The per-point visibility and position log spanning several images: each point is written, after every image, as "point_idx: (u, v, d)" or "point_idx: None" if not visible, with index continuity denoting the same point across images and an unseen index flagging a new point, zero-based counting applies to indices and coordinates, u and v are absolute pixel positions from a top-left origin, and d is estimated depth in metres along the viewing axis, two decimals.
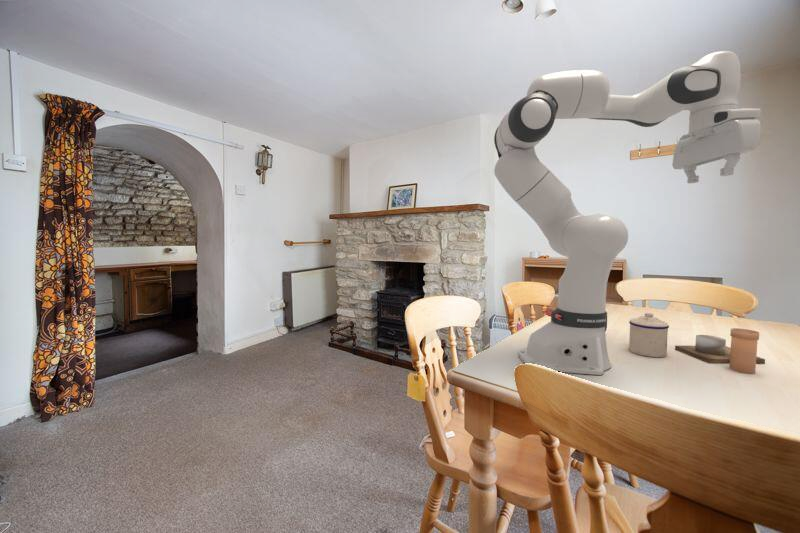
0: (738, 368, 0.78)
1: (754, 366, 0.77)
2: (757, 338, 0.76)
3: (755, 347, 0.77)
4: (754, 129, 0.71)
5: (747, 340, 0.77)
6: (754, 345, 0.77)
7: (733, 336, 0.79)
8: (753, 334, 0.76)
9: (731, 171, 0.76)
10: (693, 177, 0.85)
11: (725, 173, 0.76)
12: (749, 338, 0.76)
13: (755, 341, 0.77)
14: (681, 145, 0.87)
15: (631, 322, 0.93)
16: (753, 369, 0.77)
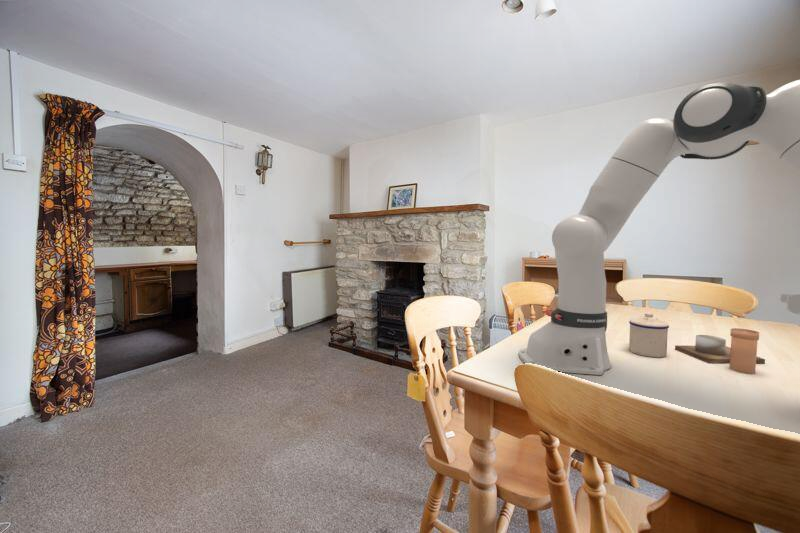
0: (738, 368, 0.78)
1: (754, 366, 0.77)
2: (757, 338, 0.76)
3: (755, 347, 0.77)
4: None
5: (747, 340, 0.77)
6: (754, 345, 0.77)
7: (733, 336, 0.79)
8: (753, 334, 0.76)
9: (784, 300, 0.65)
10: None
11: (783, 294, 0.66)
12: (749, 338, 0.76)
13: (755, 341, 0.77)
14: None
15: (631, 322, 0.93)
16: (753, 369, 0.77)
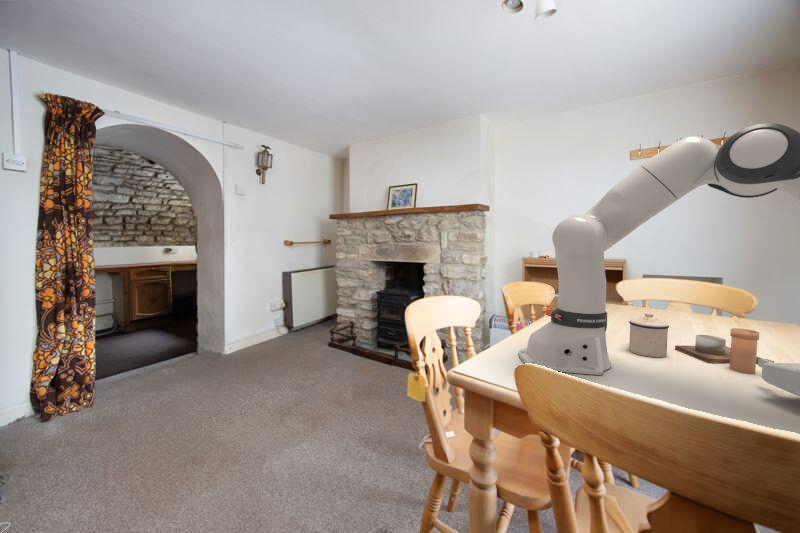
0: (738, 368, 0.78)
1: (754, 366, 0.77)
2: (757, 338, 0.76)
3: (755, 347, 0.77)
4: (784, 382, 0.61)
5: (747, 340, 0.77)
6: (754, 345, 0.77)
7: (733, 336, 0.79)
8: (753, 334, 0.76)
9: (761, 365, 0.70)
10: None
11: (761, 359, 0.70)
12: (749, 338, 0.76)
13: (755, 341, 0.77)
14: None
15: (631, 322, 0.93)
16: (753, 369, 0.77)
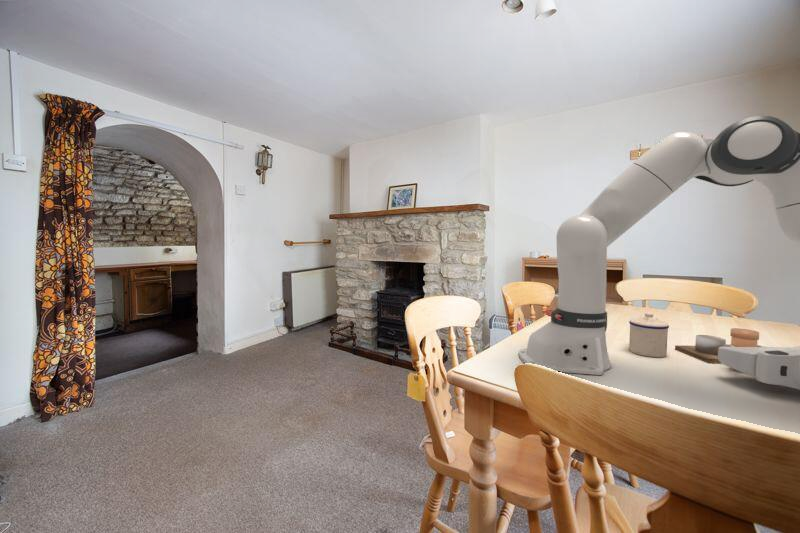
0: None
1: None
2: (757, 338, 0.76)
3: None
4: (735, 363, 0.71)
5: (747, 340, 0.77)
6: (754, 345, 0.77)
7: (733, 336, 0.79)
8: (753, 334, 0.76)
9: None
10: None
11: (727, 344, 0.79)
12: (749, 338, 0.76)
13: (755, 341, 0.77)
14: None
15: (631, 322, 0.93)
16: None
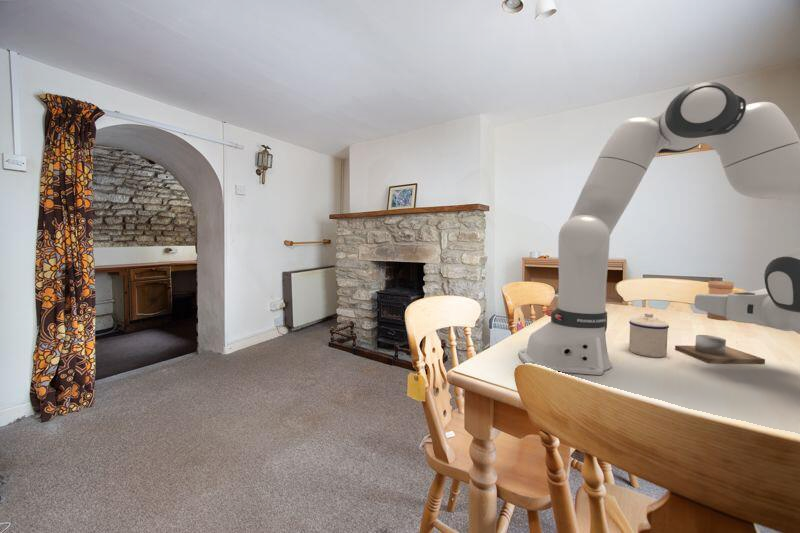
0: (714, 316, 0.85)
1: None
2: (731, 287, 0.83)
3: None
4: (708, 306, 0.78)
5: (722, 289, 0.84)
6: None
7: (710, 287, 0.86)
8: (728, 283, 0.83)
9: None
10: None
11: None
12: (724, 287, 0.83)
13: (730, 290, 0.83)
14: None
15: (631, 322, 0.93)
16: None
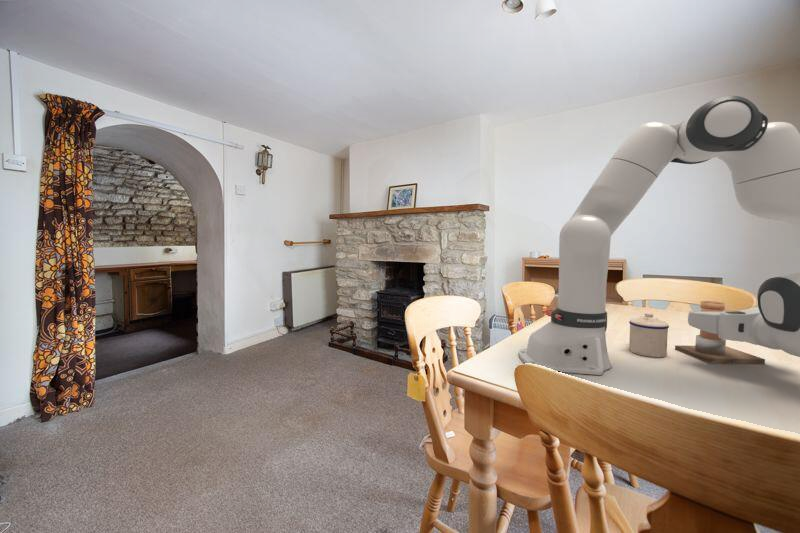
0: (706, 335, 0.88)
1: None
2: (723, 308, 0.86)
3: None
4: (701, 324, 0.81)
5: (714, 310, 0.86)
6: None
7: (702, 307, 0.89)
8: (719, 304, 0.86)
9: None
10: None
11: (690, 311, 0.89)
12: (716, 308, 0.86)
13: (721, 311, 0.86)
14: None
15: (631, 322, 0.93)
16: None
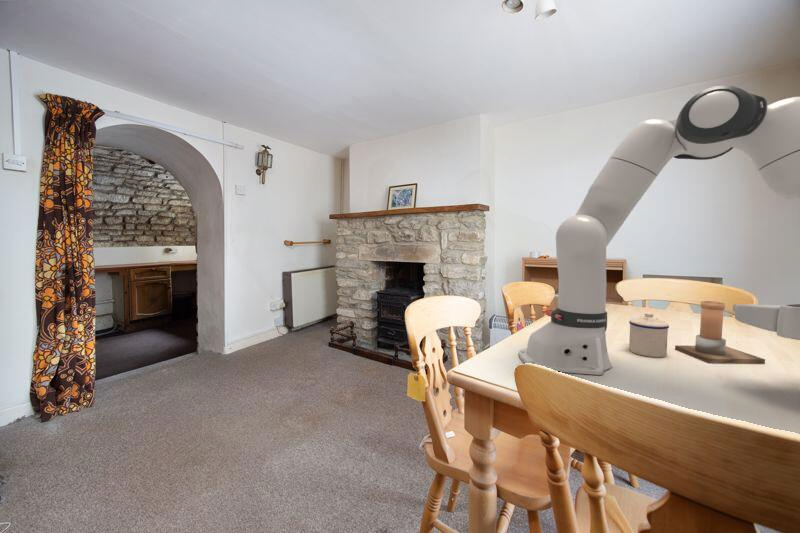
0: (706, 335, 0.88)
1: (720, 333, 0.87)
2: (723, 308, 0.86)
3: (721, 316, 0.86)
4: (753, 319, 0.67)
5: (714, 310, 0.86)
6: (720, 314, 0.86)
7: (702, 307, 0.89)
8: (719, 305, 0.86)
9: None
10: None
11: (735, 304, 0.76)
12: (716, 308, 0.86)
13: (721, 311, 0.86)
14: None
15: (631, 322, 0.93)
16: (719, 336, 0.87)
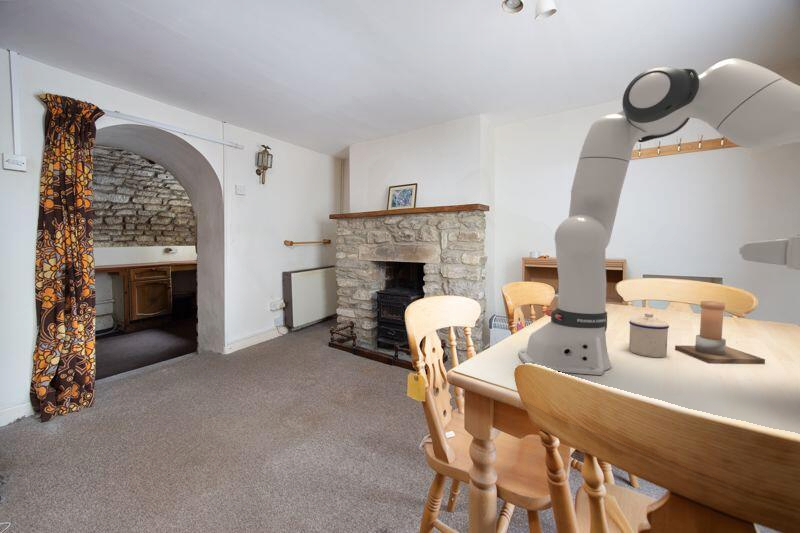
0: (706, 335, 0.88)
1: (720, 333, 0.87)
2: (723, 308, 0.86)
3: (721, 316, 0.86)
4: (762, 255, 0.65)
5: (714, 310, 0.86)
6: (720, 314, 0.86)
7: (702, 307, 0.89)
8: (719, 304, 0.86)
9: (742, 252, 0.73)
10: None
11: (742, 247, 0.73)
12: (716, 308, 0.86)
13: (721, 311, 0.86)
14: None
15: (631, 322, 0.93)
16: (719, 336, 0.87)
